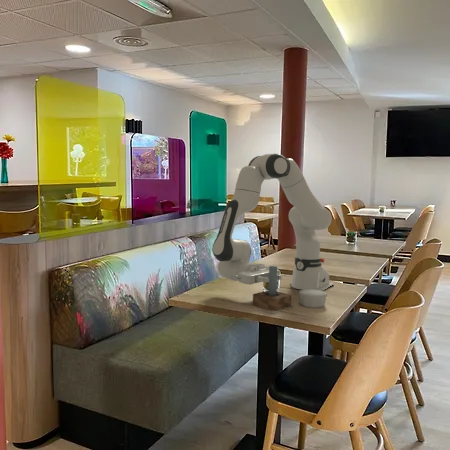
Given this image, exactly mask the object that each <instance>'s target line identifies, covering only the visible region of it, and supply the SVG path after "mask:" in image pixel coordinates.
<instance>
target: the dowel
mask: <svg viewBox="0 0 450 450" xmlns="http://www.w3.org/2000/svg"><path fill="white" fill-rule="evenodd" d="M268 267H269V279H270V280H269V282H268V290H267V291H268V296H272V297H274V296H276V291H277V287H278V286H277V284H278V280H277V269H278V265H269V266H268Z"/></svg>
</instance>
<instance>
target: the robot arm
mask: <svg viewBox="0 0 450 450" xmlns="http://www.w3.org/2000/svg"><path fill="white" fill-rule="evenodd" d="M273 179H276V180H277V181H278V182H279V184H280V187H281V188H282V191H283V194H284V195H285V198H286V199H287V201H288V202H289V203H290V204H291V205H292V206H293V207H292V208H290V210H289V211H288V220H289V222H290V223H291V226H292V227H293V231H294V236H295V243H296V245H295V257H294V266H293V269H292V277H291V281H290V282H289V284H290V287H292V288H293V289H298V290H300V291H301V290H321V291H325V289H326V290H328V289H329V288H328V287H330V286H332V285H333V284H334V285H335V283H333V282H331V281H330V273H329V272H328V271H327V270H326V269H325V268H324V267H323V266H322V263H323V264H324V263H325V260H326V259H325V258H322V257H320V256H321V255H320V254H321V241H320V239H319V238H318V237H317V235H316V231H321V230H326V229H327V228H329V226H331V224H332V219H333V218H332V213H331V212H330V210H328V209H327V208H326V207H325V206H323V205H322V204H321V202H320V201H319V200H318V198H316V196H315V195H314V193H313V192H312V191H311V189H310V187H309V184H308V183H307V181H306V178H305V176H304V174H303V172H302V170H301V169H300V167H299V166H298V164H297V163H296V161H295V160H294V159H293V158H289V157H288V158H286V156H284V155H283V154H279V153H265V154H263V155H256V156H255V157H254V158H252V159H251V160H250V161H249V163H248V165H246V166H243V167H242V168H241V169H240V171H239V173H238V177H237V179H236V183H235V188H234V189H235V190H234V193H233V196H232V198H231V200H230V201H229V202H228V203H227V205H226V207H225V210H224V212H223V214H222V215H223V216H222V219H221V222H220V226H219V229H218V233H217V236H216V238H215V240H214V242H213V244H212V248H211V249H212V253H213V256H214V257H215V259H216V260H217V261H218V264H217V271H218V273H219V275H220V276H221V277H222V278H225V279H226V280H230V281H233V282H239V283H241V284H246V285H254V284H258V283H259V284H260V283H269V280H270V279H269V266H267V265H265V264H264V263H252V262H250V259H251V255H252V248H251V247H252V246H251V245H250V243H249V242H248V241H247V240H243V239H237V238H232V236H233V233H234V230H235V227H236V222H237V220H238V218H239V217H240V216H242V215H244V214H246V213H249V212H251V211H254V209H256V208H257V206H258V205H259V202H260V195H261V191H262V184H263V182H265V180H273ZM282 279H283V278H282V275H281V270H280V269H278V268H277V281H281V280H282ZM329 282H330V283H329ZM332 287H333V286H332ZM327 288H328V289H327ZM330 288H331V287H330Z"/></svg>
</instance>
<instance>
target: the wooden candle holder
mask: <svg viewBox="0 0 450 450" xmlns="http://www.w3.org/2000/svg"><path fill="white" fill-rule="evenodd" d="M292 296H293V295H292V294H290V293H289V294H288V293H286V292H280V291H277V290H276V296H274V297H272V296H268V290H264V291H260V292H257V293H252V306H255V307H259V308H263V309H266V310H269V311H273V312H275V311H278V310H283V309H285V308H288V307H292Z"/></svg>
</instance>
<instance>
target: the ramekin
mask: <svg viewBox="0 0 450 450" xmlns="http://www.w3.org/2000/svg"><path fill="white" fill-rule="evenodd" d="M298 294H299V298H300V303H301V305H302V306H304V307H307V308H312V309H314V308H322V307H324V306H325V304H326V301H327V296H328V293H327V292H326V291H325V290H323V291H321V290H301V289H300V290H299V291H298Z"/></svg>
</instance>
